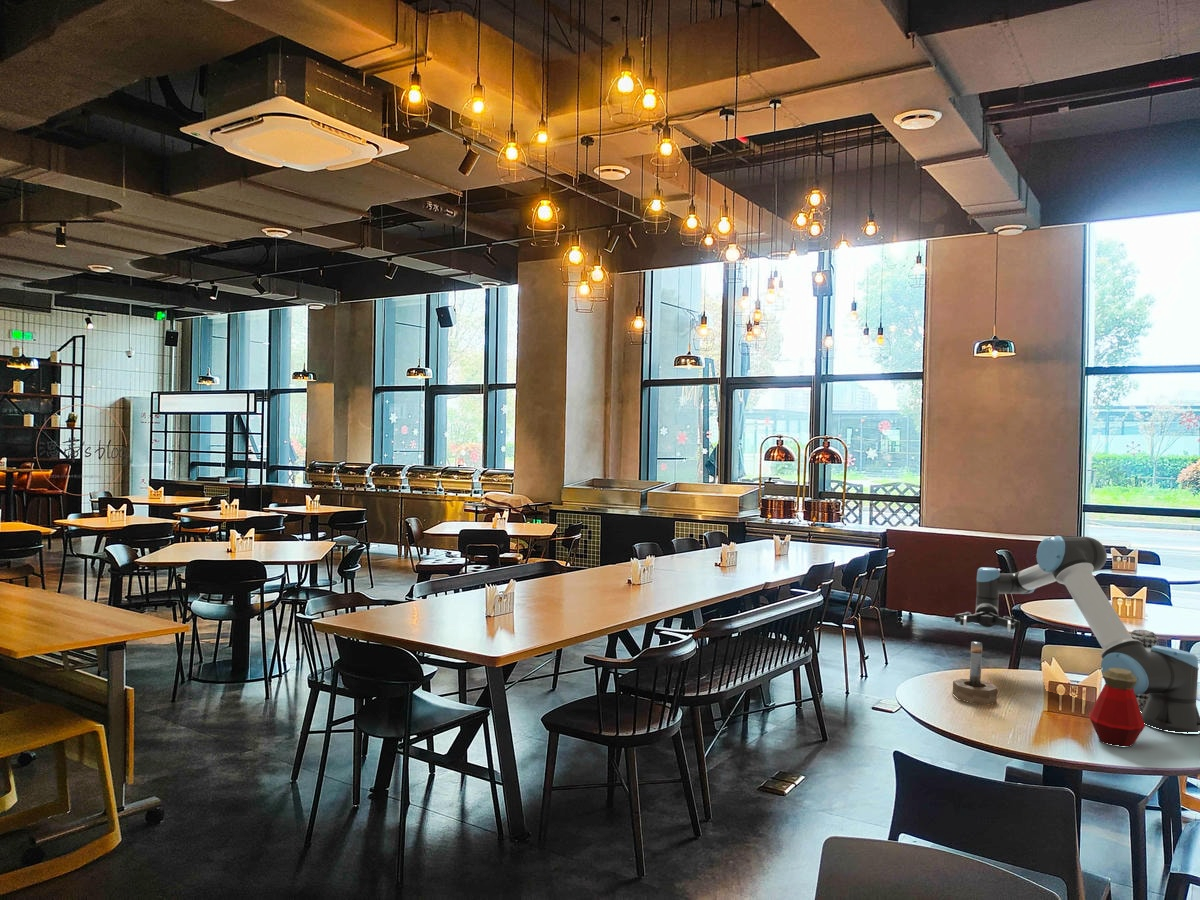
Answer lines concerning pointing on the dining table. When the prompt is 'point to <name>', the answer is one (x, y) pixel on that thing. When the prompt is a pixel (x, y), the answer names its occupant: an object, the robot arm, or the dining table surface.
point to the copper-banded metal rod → (975, 664)
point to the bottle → (1117, 709)
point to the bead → (975, 692)
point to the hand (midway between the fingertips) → (986, 625)
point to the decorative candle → (1148, 641)
